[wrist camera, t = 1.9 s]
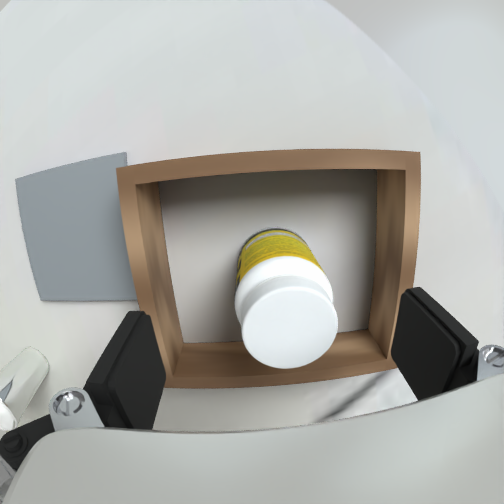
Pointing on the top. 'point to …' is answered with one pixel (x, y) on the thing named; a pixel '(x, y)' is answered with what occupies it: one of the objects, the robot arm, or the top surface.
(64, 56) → the top surface
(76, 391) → the robot arm
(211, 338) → the top surface
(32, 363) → the milkshake
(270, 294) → the supplement bottle
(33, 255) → the slate mat
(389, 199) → the walnut box
